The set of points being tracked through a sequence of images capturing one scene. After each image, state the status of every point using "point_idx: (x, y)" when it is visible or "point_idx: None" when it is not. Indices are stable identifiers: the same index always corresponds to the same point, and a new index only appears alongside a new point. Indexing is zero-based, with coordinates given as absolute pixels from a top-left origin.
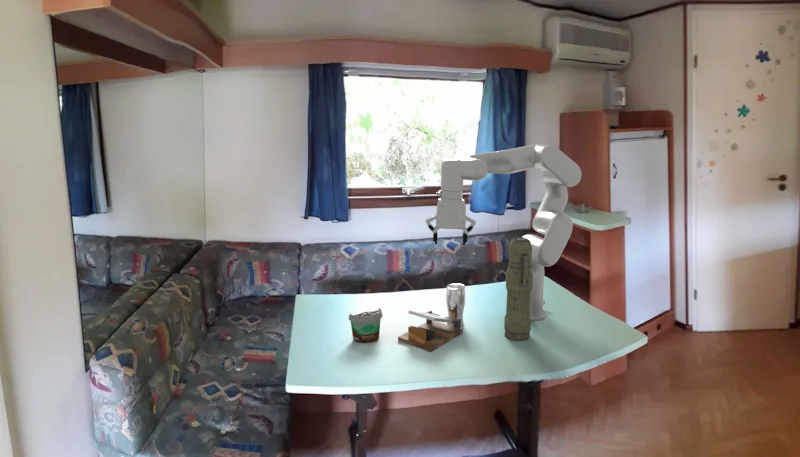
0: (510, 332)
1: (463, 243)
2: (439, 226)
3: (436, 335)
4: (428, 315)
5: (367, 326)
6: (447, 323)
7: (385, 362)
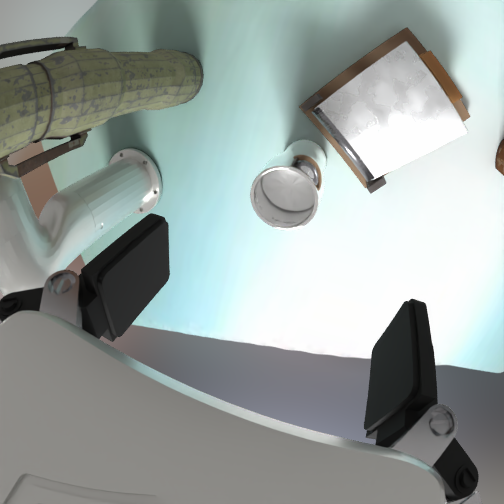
0: (188, 57)
1: (155, 224)
2: (418, 482)
3: None
4: (414, 88)
5: None
6: (325, 164)
7: (499, 31)
